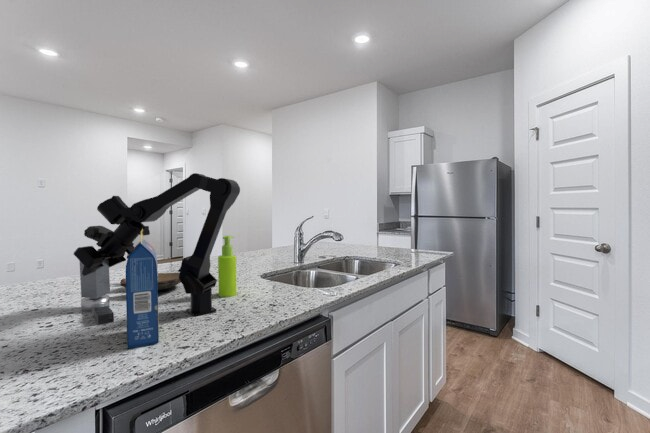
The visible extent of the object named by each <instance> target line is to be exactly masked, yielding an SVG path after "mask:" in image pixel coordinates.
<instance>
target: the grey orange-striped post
mask: <svg viewBox="0 0 650 433" xmlns="http://www.w3.org/2000/svg"><path fill="white" fill-rule="evenodd" d="M96 250H97V251H98V249H96ZM78 261H79V274H80V275H79V276H80V297H81V298H85V297H87V298H98V297H100V296H103V295H109V294H110V293H111V284H110V267H109V258H106V259H105V260H104V261H103V262H102V264H103V265H104V266H103V267H101V268H99V269H97V270H95V271H93V272H91V273H89V274H87V275H85V276H84V275H83V274H82V271H83V268H84V265H83V264H82V263H81V261H80V260H79V259H78Z"/></svg>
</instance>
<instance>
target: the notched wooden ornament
mask: <svg viewBox="0 0 650 433" xmlns="http://www.w3.org/2000/svg"><path fill="white" fill-rule="evenodd" d="M179 273H180V272H163V273H160V272H158V291H163V290H168V289H171V288H173V287H175V286H177V285H179V284H182V283H181V281H180V279H179ZM119 284H120V286H121V287H122V288H124V289H126V277H125V278H122V279H121V280H120V282H119Z"/></svg>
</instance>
